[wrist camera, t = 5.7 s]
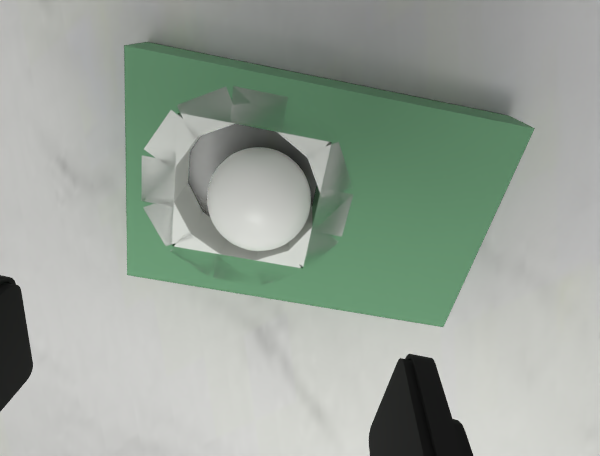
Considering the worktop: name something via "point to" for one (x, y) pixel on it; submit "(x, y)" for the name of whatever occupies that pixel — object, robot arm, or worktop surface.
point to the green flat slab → (330, 184)
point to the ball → (258, 199)
